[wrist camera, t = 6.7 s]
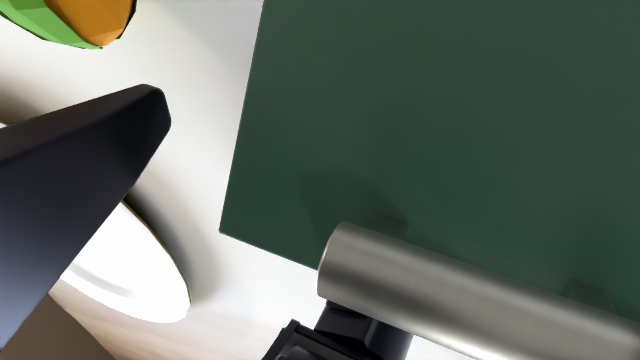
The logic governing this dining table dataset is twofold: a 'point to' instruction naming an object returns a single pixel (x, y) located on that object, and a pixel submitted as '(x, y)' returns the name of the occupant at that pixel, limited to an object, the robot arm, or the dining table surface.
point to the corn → (71, 19)
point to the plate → (130, 269)
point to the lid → (452, 167)
